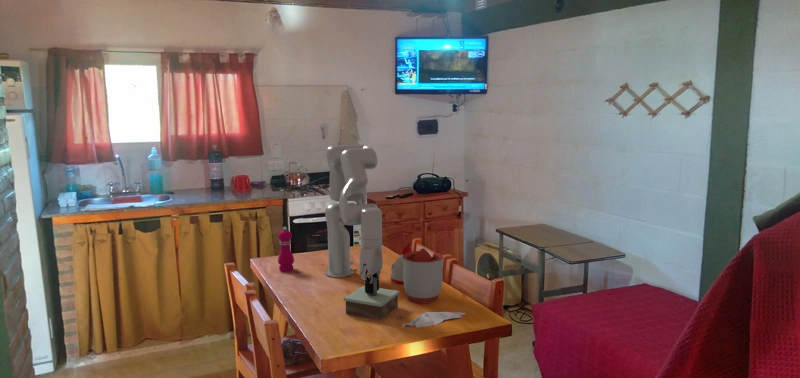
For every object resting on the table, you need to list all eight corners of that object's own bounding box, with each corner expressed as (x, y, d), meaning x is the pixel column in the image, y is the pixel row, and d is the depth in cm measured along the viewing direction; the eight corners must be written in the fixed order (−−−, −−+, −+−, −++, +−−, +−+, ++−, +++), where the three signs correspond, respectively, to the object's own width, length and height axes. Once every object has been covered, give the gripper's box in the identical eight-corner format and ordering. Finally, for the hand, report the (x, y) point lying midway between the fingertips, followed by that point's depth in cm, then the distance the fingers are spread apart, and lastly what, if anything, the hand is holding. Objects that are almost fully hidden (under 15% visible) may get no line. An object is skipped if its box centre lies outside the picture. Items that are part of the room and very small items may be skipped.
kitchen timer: (385, 282, 235) (385, 248, 233) (397, 273, 248) (397, 240, 245) (416, 286, 230) (416, 251, 228) (427, 277, 242) (427, 243, 240)
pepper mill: (290, 272, 249) (289, 228, 246) (275, 271, 251) (274, 228, 248) (296, 268, 256) (295, 225, 253) (282, 267, 258) (280, 224, 255)
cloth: (460, 310, 205) (460, 304, 205) (476, 323, 192) (476, 317, 192) (392, 317, 198) (392, 311, 198) (404, 332, 185) (404, 326, 184)
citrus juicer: (448, 293, 222) (449, 244, 219) (437, 307, 206) (437, 255, 203) (411, 288, 227) (411, 241, 224) (397, 303, 211) (396, 251, 208)
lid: (363, 288, 212) (363, 270, 211) (399, 293, 206) (399, 275, 205) (343, 300, 199) (343, 281, 198) (381, 306, 193) (381, 287, 192)
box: (364, 301, 212) (364, 288, 212) (397, 306, 207) (397, 293, 206) (345, 313, 200) (345, 300, 199) (380, 319, 194) (380, 306, 193)
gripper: (372, 236, 209) (373, 283, 211) (350, 246, 194) (351, 297, 196) (391, 238, 205) (391, 286, 208) (370, 248, 191) (370, 300, 193)
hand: (372, 291), depth 202 cm, fingers closed on lid, 3 cm apart
